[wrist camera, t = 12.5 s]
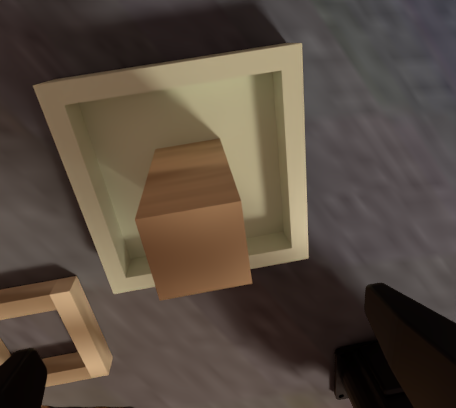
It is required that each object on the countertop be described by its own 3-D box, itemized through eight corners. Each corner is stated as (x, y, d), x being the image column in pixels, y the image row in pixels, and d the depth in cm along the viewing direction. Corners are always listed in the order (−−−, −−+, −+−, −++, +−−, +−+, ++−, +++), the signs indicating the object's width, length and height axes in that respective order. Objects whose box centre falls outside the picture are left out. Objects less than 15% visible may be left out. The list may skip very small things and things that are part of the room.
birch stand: (112, 357, 26) (108, 374, 24) (7, 377, 25) (-3, 396, 24) (76, 275, 22) (69, 291, 20) (-48, 298, 22) (-63, 315, 20)
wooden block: (228, 196, 20) (252, 283, 13) (169, 206, 20) (159, 300, 13) (220, 138, 18) (241, 201, 11) (155, 149, 18) (134, 219, 11)
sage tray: (296, 236, 22) (308, 258, 20) (121, 268, 22) (113, 294, 20) (286, 42, 17) (301, 43, 15) (53, 79, 17) (32, 85, 14)
